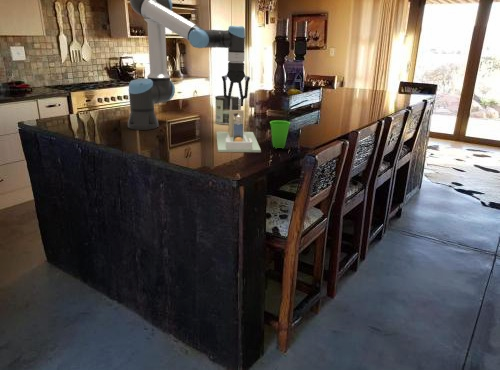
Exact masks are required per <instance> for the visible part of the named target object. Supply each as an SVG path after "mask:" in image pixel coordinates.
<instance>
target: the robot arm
mask: <svg viewBox="0 0 500 370" xmlns="http://www.w3.org/2000/svg"><path fill="white" fill-rule="evenodd" d="M129 4H130V7H131V8H132V10H133V11H134V13H136V14H138V15H139V16H142V17H143V20H144V21H145V22H146V25H147V40H148V42H147V43H148V59H149V60H148V61H149V73H148V75H147V77H146V78H136V79H132V80H131V81H129V83H128V98H129V108H130V113H129V117H128V119H127V120H128V121H127V128H128V129H131V130H137V131H143V130H144V131H146V130H154V129H157V127H158V128H159V126H160V125H159V120H158V117H157V116H156V112H155V105H156V104H160V103H161V104H162V103H167V102H169V101H170V100H172V99H173V98H174V96H175V93H176V87H175V84H174V82H173V81H172V80H171V76H170V74H168V66H167V64H168V63H167V40H166V39H167V38H166V29H168V30H169V31H171V32H173V33H174V34H176V35H178V36H180V37H181V38H183V39H186V41H188V42H189V44H190V45H191V46H192V48H197V49H204V48H205V49H206V48H210V49H211V48H213V49H214V48H215V49H216V48H218V49H219V48H221V49H223V48H224V49H226V48H227V50H228V51H227V61H228V63H227V73H226V74H225V75H222V76H221V78H222V82H223V83H222V85H223V88H222V89H223V96H224V98H227V99H228V106H230V110H232V99H230V98H231V96H232V92H233V87H234V83H235V84H236V83H237V85H238V88H239V89H238V90H239V96H240V97H239V110H242V107H244V100H245V99H248V92H249V82H250V80H251V77H250V76H248V75H246V74H245V63H244V62H245V55H246V54H245V52H246V51H245V48H246V47H245V45H246V29H245V27H244V26H243V25H242V26H241V25H240V26H239V25H229V26H228V29H227V30H225V29H224V30H222V29H221V30H220V29H219V30H218V29H204V28H202V27H201V26H199V25H197V24H195V23H194V22H193V21H190V20H189V19H187V18H185V17H184V16H181V15H180V14H178V13H176V12H175V11H173V2H172V0H129ZM227 79H228V80H229V81H230V82H229V88H228V94H227ZM243 80H245V82H244V84H245V86H244V93H243V86H242V85H243V84H242V82H243Z"/></svg>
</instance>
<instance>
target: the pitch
mask: <svg viewBox="0 0 500 370" xmlns="http://www.w3.org/2000/svg"><path fill="white" fill-rule="evenodd" d="M234 113H239V115H240V116H241V117H242V120H241V122H240V124H243V125H244V119H245V118H244V115H245V114H244V113H245V112H244V110H243V109H241V110H229V124H228V131H216V132H215V133H216V145H217V146H216V147H217V153H262V150H261V147H260V145H259V142H258V141H257V138H256V136H255V133H254V131H243V142H233V132H234V124H236V121H235V117H234Z"/></svg>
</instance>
